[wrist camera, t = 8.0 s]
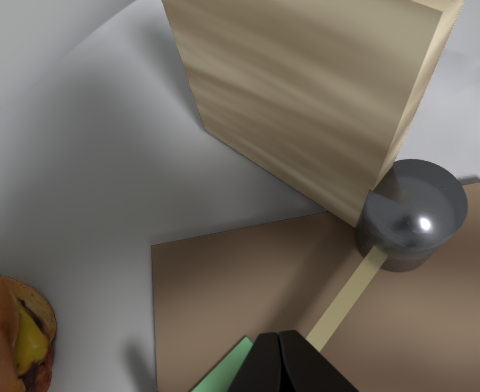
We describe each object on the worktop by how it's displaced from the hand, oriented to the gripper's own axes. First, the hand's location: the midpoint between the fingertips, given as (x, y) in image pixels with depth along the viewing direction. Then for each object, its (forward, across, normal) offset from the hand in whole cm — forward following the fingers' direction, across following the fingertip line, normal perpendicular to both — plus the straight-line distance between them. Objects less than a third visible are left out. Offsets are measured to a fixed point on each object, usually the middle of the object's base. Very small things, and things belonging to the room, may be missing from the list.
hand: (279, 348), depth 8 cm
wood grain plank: (+10, +1, +2) cm, 10 cm away
